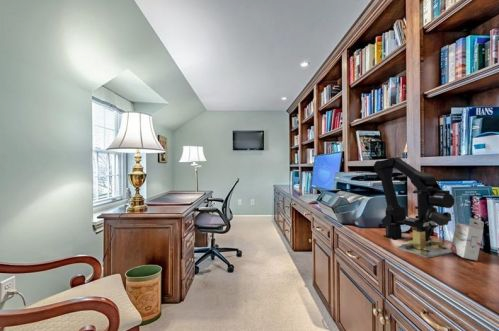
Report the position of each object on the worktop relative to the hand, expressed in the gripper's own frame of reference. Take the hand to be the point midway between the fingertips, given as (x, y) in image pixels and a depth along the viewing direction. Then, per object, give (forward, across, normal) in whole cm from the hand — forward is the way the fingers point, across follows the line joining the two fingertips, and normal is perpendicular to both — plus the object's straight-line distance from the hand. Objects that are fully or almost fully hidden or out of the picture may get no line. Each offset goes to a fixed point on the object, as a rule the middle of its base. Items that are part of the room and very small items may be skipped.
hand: (426, 241), depth 107 cm
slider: (+2, -4, 0) cm, 5 cm away
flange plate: (+3, -1, -1) cm, 4 cm away
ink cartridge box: (+3, +3, -12) cm, 12 cm away
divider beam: (+3, -1, 0) cm, 3 cm away
